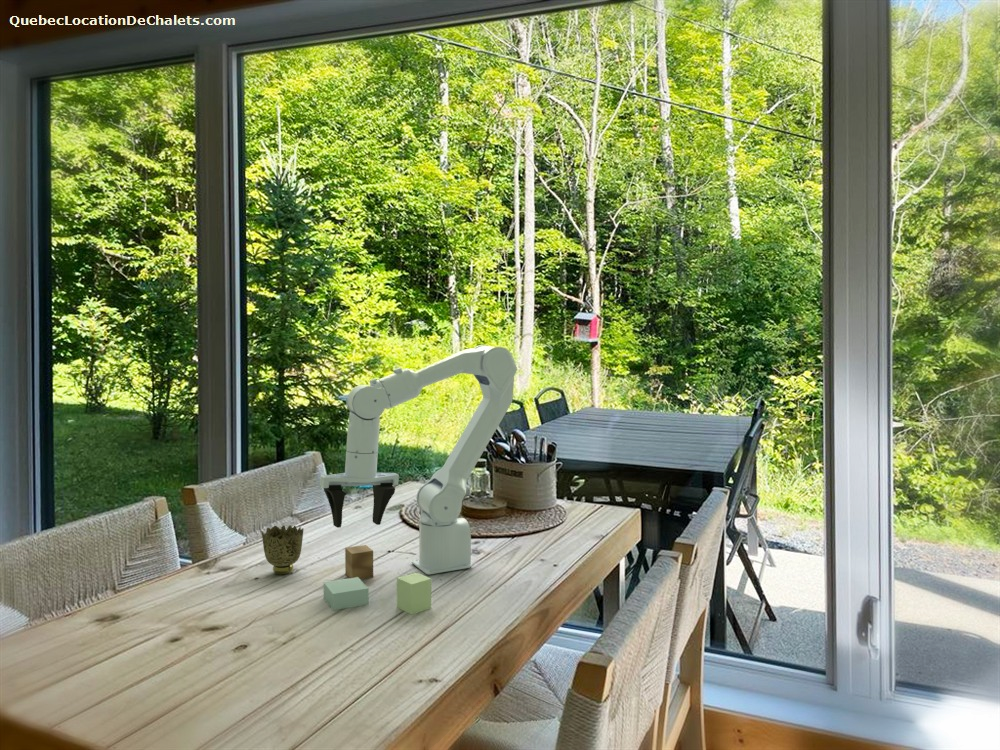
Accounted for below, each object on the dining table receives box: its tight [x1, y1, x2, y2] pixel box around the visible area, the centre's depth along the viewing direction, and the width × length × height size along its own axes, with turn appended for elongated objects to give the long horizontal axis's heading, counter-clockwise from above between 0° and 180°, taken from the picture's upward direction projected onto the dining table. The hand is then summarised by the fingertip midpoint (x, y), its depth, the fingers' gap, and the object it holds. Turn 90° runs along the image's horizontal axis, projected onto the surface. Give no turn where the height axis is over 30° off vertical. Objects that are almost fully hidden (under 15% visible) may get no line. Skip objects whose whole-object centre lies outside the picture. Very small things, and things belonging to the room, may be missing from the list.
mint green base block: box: [323, 577, 370, 611], centre depth 128 cm, size 6×6×3 cm
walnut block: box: [344, 544, 374, 580], centre depth 140 cm, size 4×4×5 cm
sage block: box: [396, 572, 432, 615], centre depth 125 cm, size 4×4×5 cm
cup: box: [261, 524, 304, 575], centre depth 141 cm, size 8×7×8 cm
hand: (357, 524), depth 140 cm, fingers open, 7 cm apart
